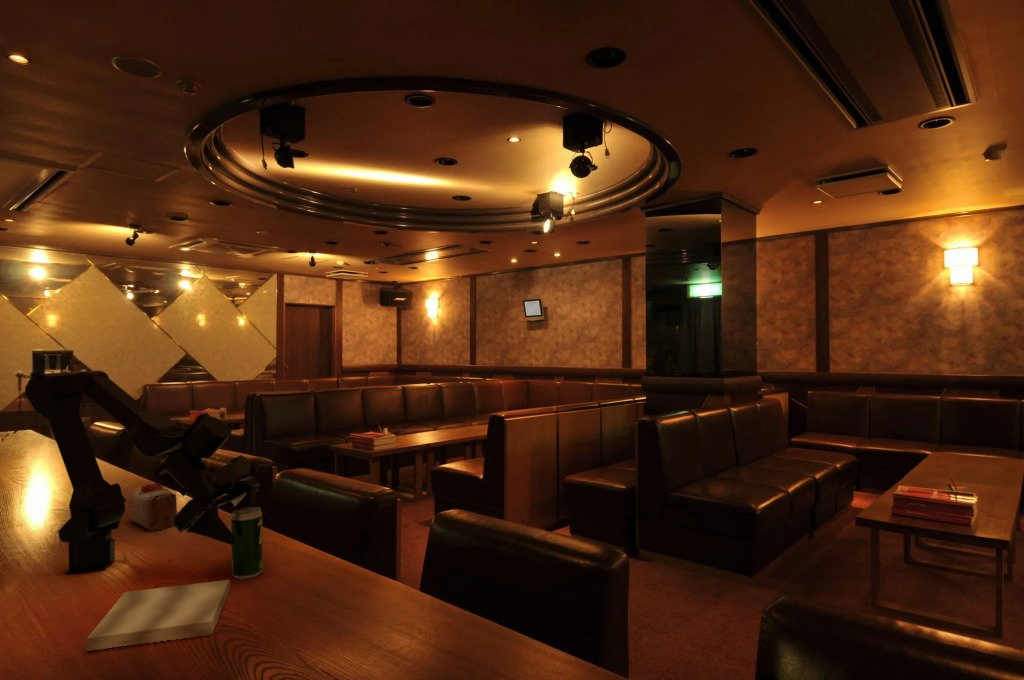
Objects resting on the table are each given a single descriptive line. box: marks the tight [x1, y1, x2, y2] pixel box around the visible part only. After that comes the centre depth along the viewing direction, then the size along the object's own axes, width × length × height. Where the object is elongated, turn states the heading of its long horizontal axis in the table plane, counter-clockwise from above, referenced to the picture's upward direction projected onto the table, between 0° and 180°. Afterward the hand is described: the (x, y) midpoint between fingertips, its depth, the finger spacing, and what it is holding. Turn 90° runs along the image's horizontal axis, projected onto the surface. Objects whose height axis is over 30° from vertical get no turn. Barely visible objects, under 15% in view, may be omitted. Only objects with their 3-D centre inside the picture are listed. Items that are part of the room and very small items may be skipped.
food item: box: [128, 482, 178, 532], centre depth 143 cm, size 14×8×10 cm, turn 51°
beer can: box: [230, 506, 264, 581], centre depth 111 cm, size 5×5×12 cm
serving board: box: [86, 579, 231, 652], centre depth 94 cm, size 16×16×2 cm
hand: (249, 534), depth 111 cm, fingers open, 9 cm apart
